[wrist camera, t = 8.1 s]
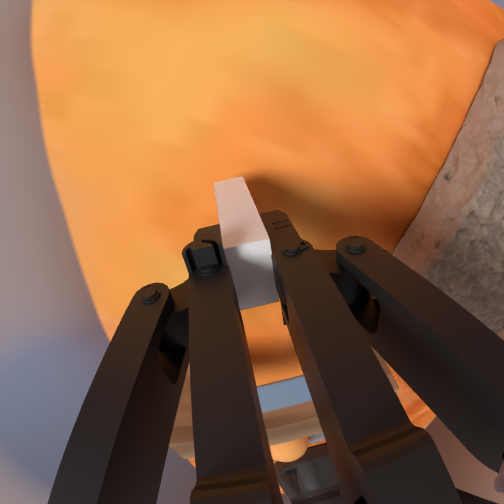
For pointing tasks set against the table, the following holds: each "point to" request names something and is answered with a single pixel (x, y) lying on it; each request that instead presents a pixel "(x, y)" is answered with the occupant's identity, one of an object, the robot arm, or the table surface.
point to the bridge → (276, 422)
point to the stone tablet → (467, 210)
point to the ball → (289, 450)
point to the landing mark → (283, 394)
